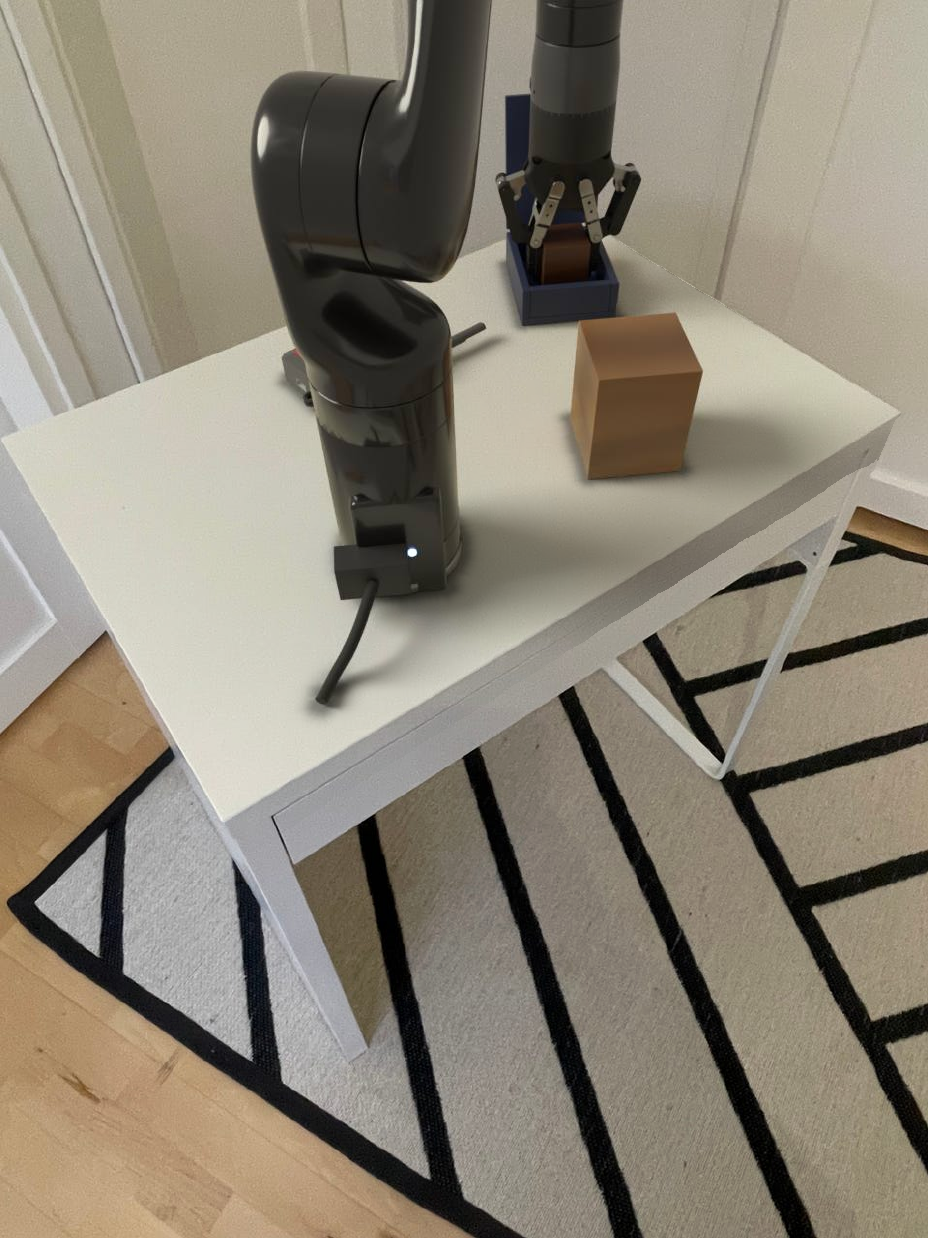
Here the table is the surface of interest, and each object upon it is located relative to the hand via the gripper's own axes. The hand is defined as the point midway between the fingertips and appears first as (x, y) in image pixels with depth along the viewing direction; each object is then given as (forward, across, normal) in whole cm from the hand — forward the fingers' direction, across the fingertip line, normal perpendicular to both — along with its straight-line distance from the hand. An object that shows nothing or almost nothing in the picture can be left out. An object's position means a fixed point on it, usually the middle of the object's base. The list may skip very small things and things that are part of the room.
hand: (561, 274), depth 88 cm
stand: (+2, +1, -24) cm, 24 cm away
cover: (-8, 0, +7) cm, 11 cm away
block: (0, 0, 0) cm, 0 cm away
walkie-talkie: (+2, -19, -9) cm, 21 cm away
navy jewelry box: (+2, 0, +1) cm, 2 cm away
